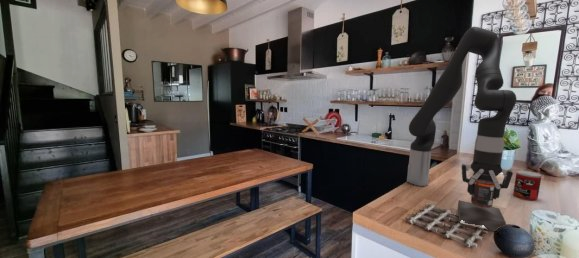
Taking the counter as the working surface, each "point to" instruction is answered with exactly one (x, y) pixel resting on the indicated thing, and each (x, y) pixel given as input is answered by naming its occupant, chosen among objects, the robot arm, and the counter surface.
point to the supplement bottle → (483, 191)
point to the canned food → (527, 185)
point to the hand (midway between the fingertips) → (482, 196)
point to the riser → (480, 215)
